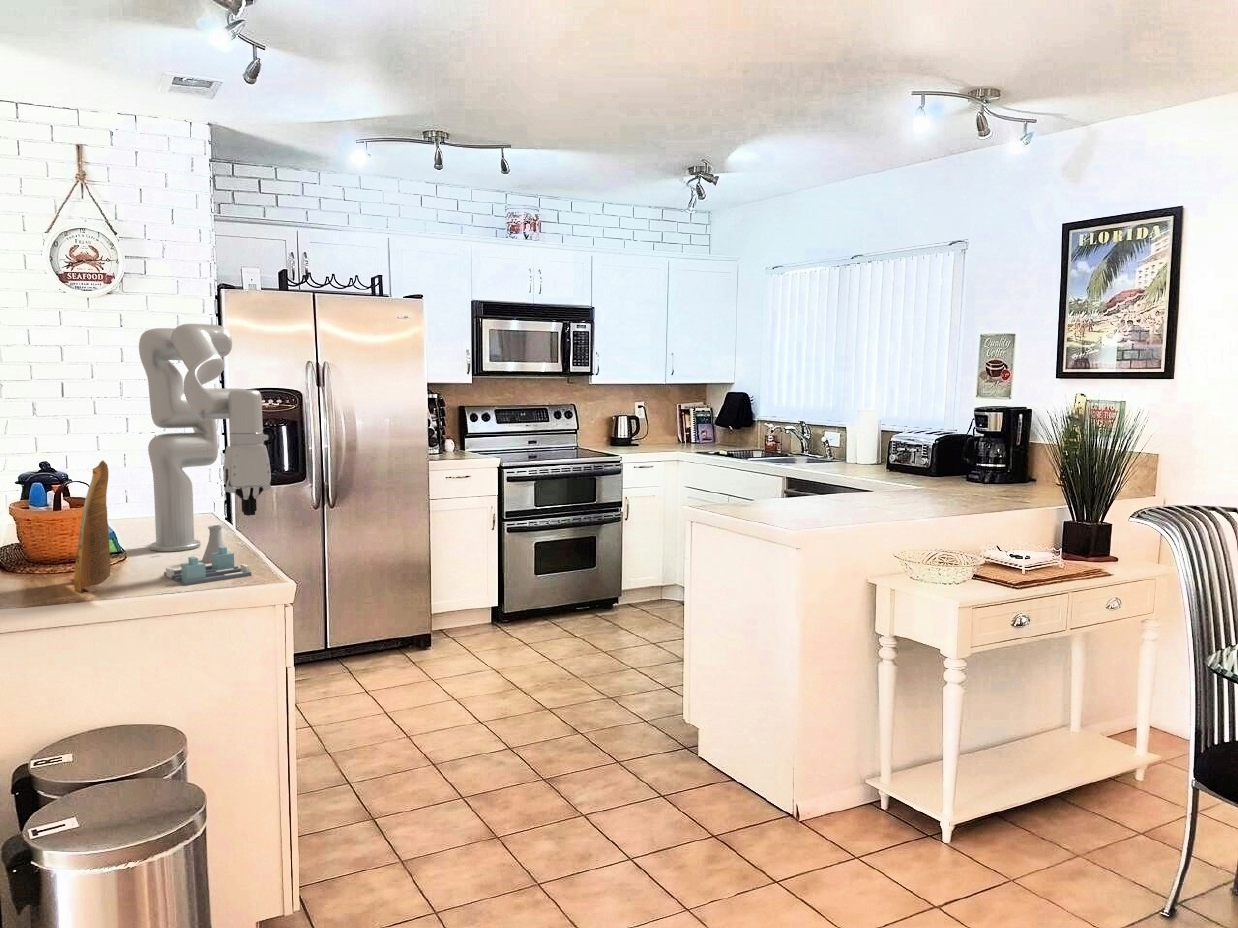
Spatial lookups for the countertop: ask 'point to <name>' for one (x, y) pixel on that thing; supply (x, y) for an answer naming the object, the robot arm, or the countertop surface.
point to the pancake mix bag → (93, 534)
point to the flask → (213, 542)
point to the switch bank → (210, 574)
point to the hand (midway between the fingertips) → (249, 514)
